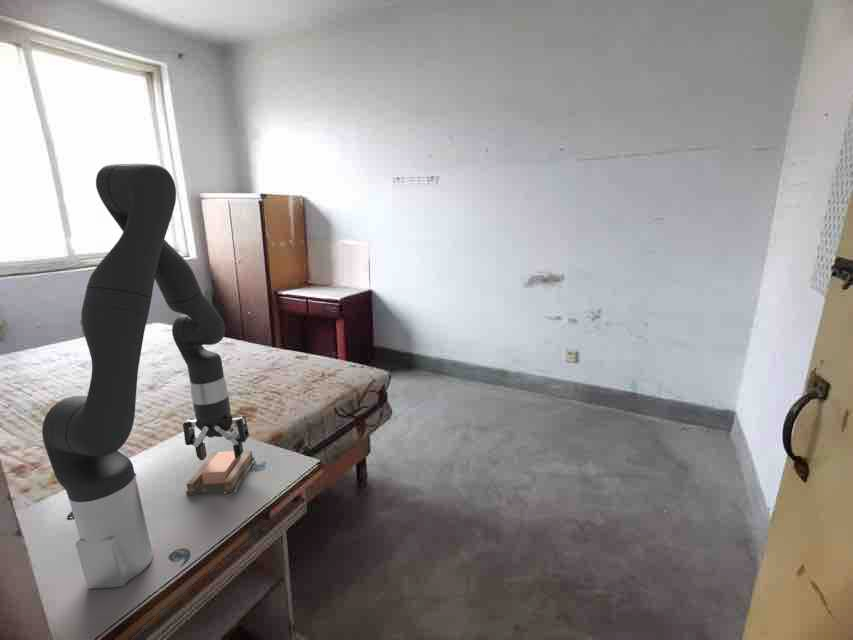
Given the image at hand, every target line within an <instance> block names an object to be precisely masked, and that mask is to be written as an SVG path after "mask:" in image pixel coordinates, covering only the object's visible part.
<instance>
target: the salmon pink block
mask: <svg viewBox="0 0 853 640" xmlns="http://www.w3.org/2000/svg"><path fill="white" fill-rule="evenodd" d="M216 453H217V454H216V455H215V457H214V458H213V459H212V460H211V462H210V463H209V464H208V465H207V467H206V468H205V469H204V470H203V472H202V473H201V474H202V480H203V484H214V483H224V481H225V480H226V478H227V477H228V476H229V474H230V473H231V471H232V470H233V469H234V467H235V466H236V464H237V463H238V461H239V460H240V459H241V457H242V455H241V456H240V457H239V458H235V455H234V450H230V451H218V452H216Z"/></svg>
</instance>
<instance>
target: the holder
mask: <svg viewBox="0 0 853 640" xmlns="http://www.w3.org/2000/svg"><path fill="white" fill-rule="evenodd" d="M217 453H218V452H212V453H211V454H210V455H209V457H208V458H207V459H206V460H205V461H204V463H202V465H201V466H200V467H199V468H198V470H197V471H196V472H195V473H194V474H193V476H192V477H191V478H190V479H189V480H188V481H187V482H186V488H187V490H186V491H185V493H186V494H185V495H186V496H199V495H201V494H203V495H212V494H211V493H220V494H225V493H224V492H235V490H236V489H237V490H238V488H239V487H240V485H241V484H240V483H242V482H243V481H242V480H244V479H245V477H246V476H247V474H248V473H247V471H248V469H249V467H250V466H251V464H252V462H253V461H254V459H255V460H256V457H253V451H252V450H245V452H243V453H242V455H241V459H240V460H239V461H238V463H237V464H236V466H235V467H234V469H233V470H232V471H231V473H230V474H229V476H228V477H227V478H226V480H225V481H224V483H214V484H203V480H202V474H201V473H202V472H203V470H204V469H205V468H206V467H207V465H208V464H209V463H210V462H211V460H212V459H213V458H214V457H215V455H216V454H217ZM251 467H252V466H251ZM248 472H249V471H248ZM246 473H247V474H246ZM245 475H246V476H245ZM244 476H245V477H244ZM243 478H244V479H243ZM241 481H242V482H241ZM238 486H239V487H238ZM237 490H236V491H237ZM235 493H236V492H235Z"/></svg>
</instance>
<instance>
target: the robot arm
mask: <svg viewBox="0 0 853 640" xmlns="http://www.w3.org/2000/svg"><path fill="white" fill-rule="evenodd" d="M95 188H96V191H97V194H98V196H99V198H100V200H101V201H102V203H103V205H104V207H105V208H106V210H107V211H108V212H109V214H110V216H111V217H112V218H113V219H114V221H115V222H116V224H117V225H118V226H119V228H120V229H121V230H122V234H121V236H120V237H119V239H118V240H117V242H116V243H115V244H114V246H113V247H112V248H111V249H110V250H109V251H108V253H107V254H105V256H104V257H103V259H102V260H101V261H100V262H99V263H98V265H97V266H96V267H95V268H94V270H93V271H92V273H91V275H90V277H89V280H88V283H87V285H86V288H85V295H84V299H83V303H82V308H81V314H80V315H81V316H80V319H81V320H80V321H81V326H82V331H83V335H84V338H85V341H86V345H87V347H88V351H89V354H90V359H91V376H90V377H91V378H90V381H89V382H90V383H89V386H88V387H89V388H88V392H87V395H75V396H70V397H66V398H64V399H61V400H60V401H58V402H57V403H55V404H54V405H53V406H52V407H51V408H50V409H49V410H48V411H47V413H46V415H45V417H44V420H43V423H42V428H41V429H42V431H41V434H42V440H43V444H44V448H45V452H46V454H47V457H48V460H49V463H50V465H51V468H52V471H53V474H54V476H55V478H56V480H57V482H58V483H59V485H60V486H61V487H62V488H63V489H64V490H65V492H66V495H67V497H68V501H69V504H70V507H71V512H73V516H74V518H73V519H74V523H75V526H76V527H75V528H76V530H77V535H78V537H79V539H78V540H77V541H76V542H75V547H76V551H77V555H78V558H79V562H80V566H81V569H82V573H83V576H84V580H85V583H86V587H87V589H88V590H91V589H105V588H106V589H107V588H123V587H124V586H126V584H127V583H128V582H129V581H130V580H132V579H134V578H136V577H137V576H138V575H139V574H140V573H142V572H143V571H144V570H145V569H147V568H148V566H149V565H150V563H151V562H152V560H153V557H154V552H153V547H152V544H151V539H150V534H149V529H148V524H147V521H146V518H145V517H146V516H145V512H144V509H143V504H142V500H141V495H140V491H139V486H138V482H137V477H136V476H135V473H136V472H135V470H134V469H135V468H134V465H133V463H132V461H131V460H130V458H128V457H127V456H126V455H124V454H123V453H121V452H120V451H119V450H120V449H121V448H122V446H123V445H125V443H126V442H127V440H128V439H129V437H130V434H131V432H132V429H133V426H134V422H135V415H136V404H137V403H136V402H137V401H136V400H137V391H138V390H137V389H138V387H137V386H138V375H139V366H140V361H141V356H142V355H141V353H142V348H143V341H144V336H145V330H146V325H147V322H148V319H149V314H150V308H151V304H152V298H153V290H154V283H155V282H156V284H157V286H158V289H159V291H160V293H161V295H162V297H163V299H164V301H165V303H166V304H167V307H168V308H169V309H170V310H171V311H173V312H174V313H177V314H180V315H179V316H177V317H176V318H175V319H174V321H173V322H172V328H171V334H172V338H173V340H174V342H175V345H176V347H177V349H178V351H179V353H180V355H181V357H182V358H183V360H184V362H185V364H186V366H187V372H188V377H189V382H190V395H191V401H192V405H193V406H192V407H193V411H194V416H195V419H194V418H193V417H189V418H188V419H186V420H185V421H184V423H182V427H183V435H184V444H185V445H186V446H193V447H194V448H195V454H196V457H197V459H199V461H204V460H205V458H207V455H208V454H207V449H206V443H205V442H204V440H205V439H206V437H208V438H214V437H217V438H222V437H224V438H225V440H229V441H230V443H232V447H233V451H234V455H235V458H239V457H240V456H241V457H242V455H243V454H244V446H243V443H245V442H246V441H247V439H248V438H249V436H250V432H249V428H248V424H247V419H246V416H245V415H243V414H242V415H240V416H239V417H233V416H232V414H231V413H232V412H231V404H230V398H229V390H228V387H227V386H228V385H227V382H226V378H225V375H224V367H223V363H222V362H223V361H222V358H221V355H220V354H219V353H216V352H214V351H210V350H207V349H206V348H205V347H204V346H210V345H211V346H213V345H216V344H219V343H220V342H221V341H222V340H223V338H224V337H225V334H226V326H225V322H224V319H223V318H222V317H221V315H220V313H219V312H218V311H217V309H216V308H215V307H214V306H213V305H212V303H211V302H210V300H209V299H208V298H207V297H206V296H205V295H204V294H203V292H202V289H201V287H200V285H199V282H198V280H197V277H196V275H195V272H194V271H193V269H192V268H191V266H190V265H189V264H188V262H187V261H186V260H185V259H184V257H182V255H180V254H179V252H178V251H177V250H175V248H173V247H172V246H171V244H169V243H168V242H167V240H166V239H165V238H166V236H167V235H166V234H167V233H168V232H167V231H168V229H169V227H170V223H171V221H172V216H173V214H174V210H175V206H176V201H177V188H176V183H175V181H174V178H173V176H172V174H171V173H170V172H169V171H168V170H167V169H166V168H165V167H163V166H161V165H159V164H155V163H147V162H146V163H145V162H144V163H141V162H140V163H139V162H138V163H114V164H113V163H111V164H107V165H104V166H103V167H102V168H100V170H99V171H98V172H97V175H96V178H95ZM233 424H234V425H235V427H234V426H233ZM196 427H197V429H199V431H200V433H198V436H196V431H195V428H196ZM236 428H237V429H236Z"/></svg>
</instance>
